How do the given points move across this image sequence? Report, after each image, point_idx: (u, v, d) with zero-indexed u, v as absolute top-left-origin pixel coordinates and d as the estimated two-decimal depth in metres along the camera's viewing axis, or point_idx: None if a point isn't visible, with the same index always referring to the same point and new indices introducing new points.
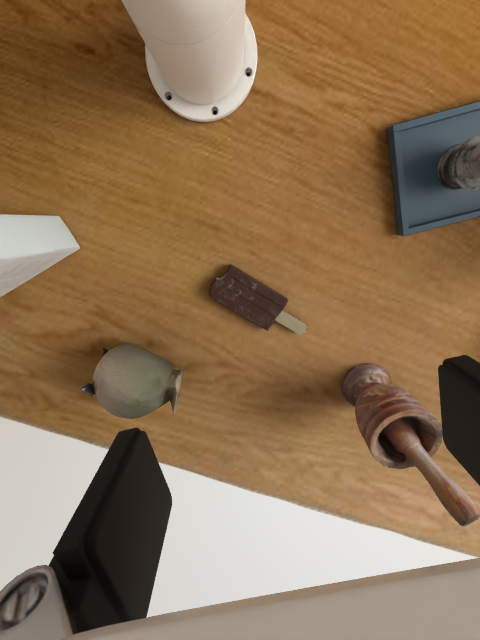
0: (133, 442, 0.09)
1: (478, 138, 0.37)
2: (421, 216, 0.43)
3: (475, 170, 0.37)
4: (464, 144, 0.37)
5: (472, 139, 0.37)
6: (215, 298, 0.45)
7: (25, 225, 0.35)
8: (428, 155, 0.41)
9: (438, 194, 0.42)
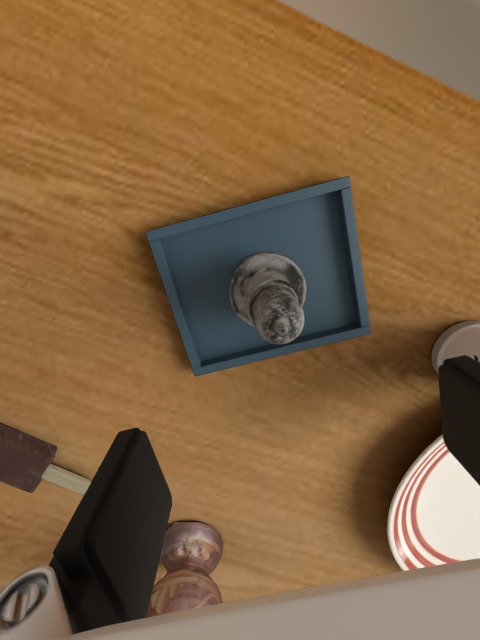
0: (133, 442, 0.09)
1: (260, 259, 0.24)
2: (223, 346, 0.30)
3: None
4: (240, 267, 0.24)
5: (251, 261, 0.24)
6: None
7: None
8: (216, 267, 0.28)
9: None
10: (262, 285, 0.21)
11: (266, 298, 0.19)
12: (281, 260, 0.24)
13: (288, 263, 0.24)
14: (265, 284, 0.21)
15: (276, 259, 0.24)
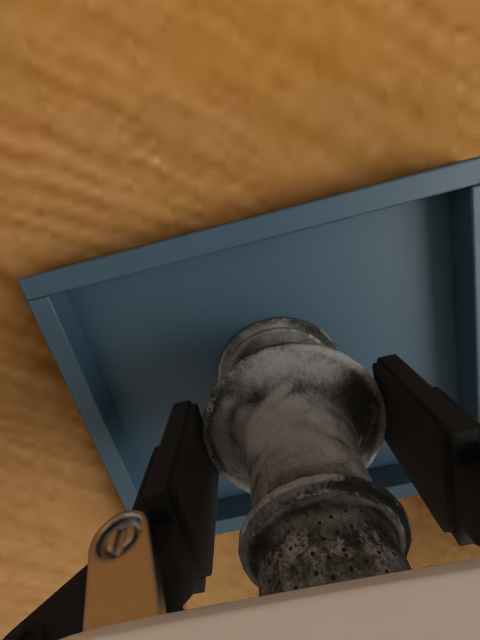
0: (189, 412, 0.10)
1: (278, 359, 0.10)
2: None
3: None
4: (229, 377, 0.10)
5: (256, 362, 0.10)
6: None
7: None
8: (184, 347, 0.13)
9: None
10: (291, 496, 0.06)
11: None
12: (332, 361, 0.10)
13: (348, 368, 0.10)
14: (301, 495, 0.06)
15: (318, 360, 0.10)
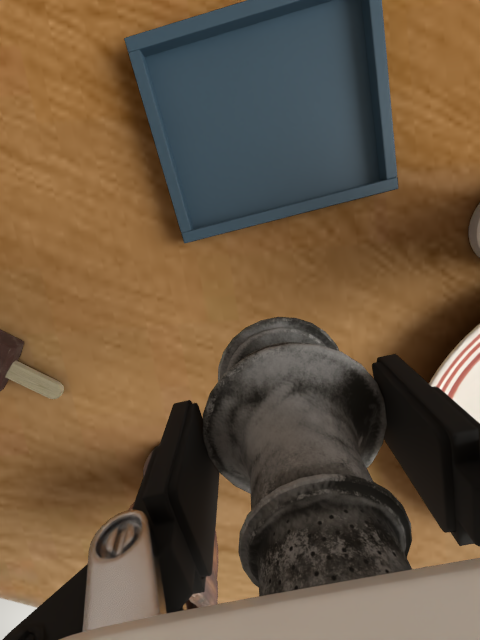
0: (190, 412, 0.10)
1: (279, 359, 0.10)
2: (218, 209, 0.25)
3: None
4: (229, 377, 0.10)
5: (256, 362, 0.10)
6: None
7: None
8: (211, 100, 0.23)
9: (241, 171, 0.24)
10: (291, 496, 0.06)
11: None
12: (332, 361, 0.10)
13: (348, 368, 0.10)
14: (301, 495, 0.06)
15: (319, 360, 0.10)
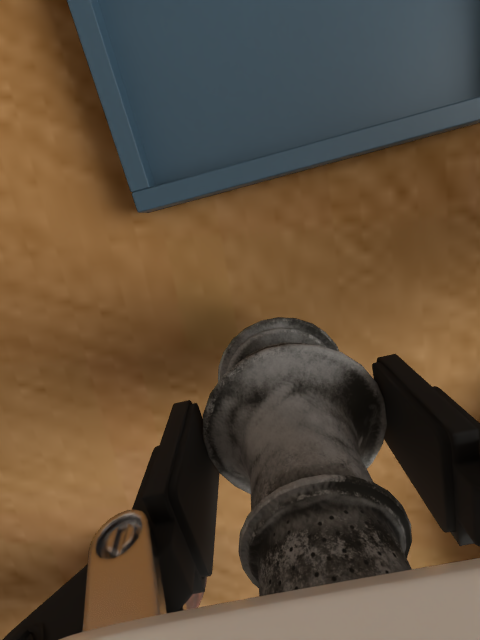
0: (189, 412, 0.10)
1: (279, 359, 0.10)
2: (201, 152, 0.14)
3: None
4: (230, 377, 0.10)
5: (256, 363, 0.10)
6: None
7: None
8: None
9: (243, 74, 0.13)
10: (291, 497, 0.06)
11: None
12: (332, 361, 0.10)
13: (348, 369, 0.10)
14: (302, 496, 0.06)
15: (319, 360, 0.10)
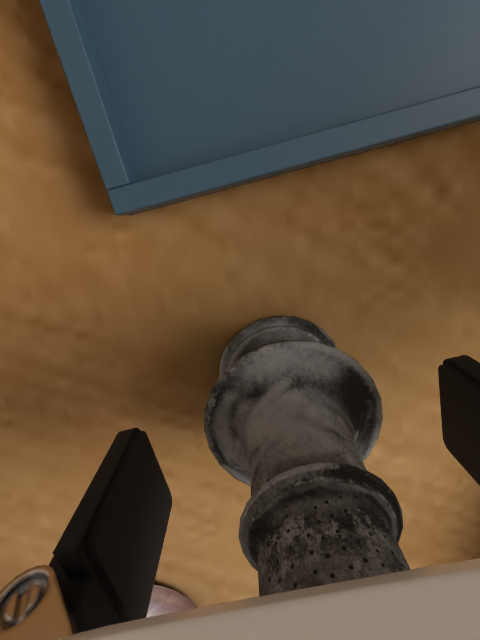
0: (133, 442, 0.09)
1: (278, 355, 0.10)
2: (195, 140, 0.11)
3: None
4: (231, 373, 0.10)
5: (256, 359, 0.10)
6: None
7: None
8: None
9: (248, 41, 0.10)
10: (289, 483, 0.07)
11: None
12: (329, 358, 0.10)
13: (345, 365, 0.10)
14: (298, 482, 0.07)
15: (317, 356, 0.10)
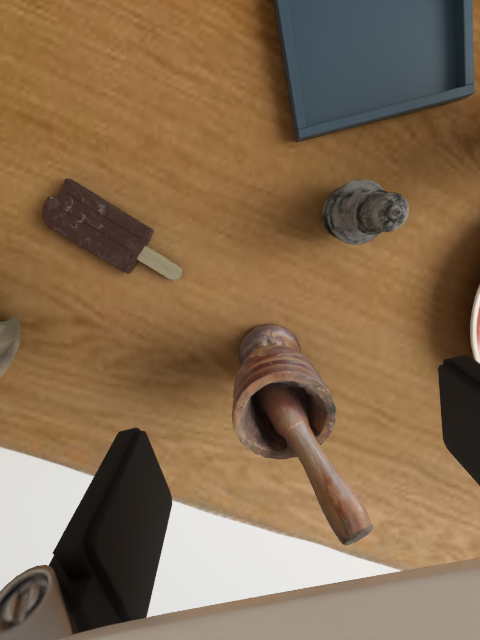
0: (133, 442, 0.09)
1: (356, 184, 0.30)
2: (325, 113, 0.31)
3: (350, 223, 0.30)
4: (340, 190, 0.30)
5: (349, 185, 0.30)
6: (50, 225, 0.33)
7: None
8: (329, 20, 0.29)
9: (347, 80, 0.30)
10: (368, 194, 0.27)
11: (379, 195, 0.25)
12: (373, 185, 0.30)
13: (378, 188, 0.30)
14: (371, 193, 0.27)
15: (369, 184, 0.30)
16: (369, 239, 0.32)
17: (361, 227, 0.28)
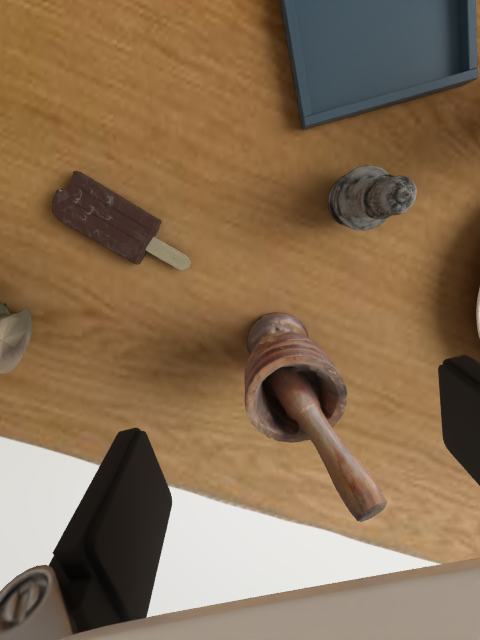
0: (133, 442, 0.09)
1: (362, 170, 0.30)
2: (331, 100, 0.32)
3: (357, 209, 0.30)
4: (346, 177, 0.31)
5: (355, 171, 0.31)
6: (60, 217, 0.34)
7: None
8: (333, 7, 0.29)
9: (352, 67, 0.31)
10: (375, 178, 0.27)
11: (387, 179, 0.25)
12: (379, 170, 0.30)
13: (384, 173, 0.31)
14: (378, 177, 0.27)
15: (375, 170, 0.30)
16: (375, 224, 0.32)
17: (369, 212, 0.28)
